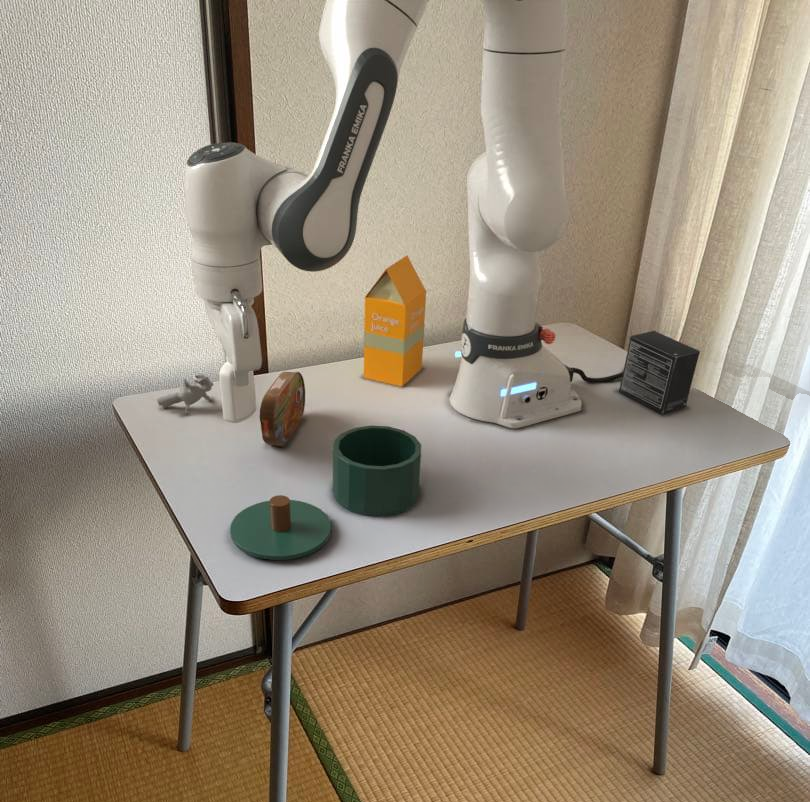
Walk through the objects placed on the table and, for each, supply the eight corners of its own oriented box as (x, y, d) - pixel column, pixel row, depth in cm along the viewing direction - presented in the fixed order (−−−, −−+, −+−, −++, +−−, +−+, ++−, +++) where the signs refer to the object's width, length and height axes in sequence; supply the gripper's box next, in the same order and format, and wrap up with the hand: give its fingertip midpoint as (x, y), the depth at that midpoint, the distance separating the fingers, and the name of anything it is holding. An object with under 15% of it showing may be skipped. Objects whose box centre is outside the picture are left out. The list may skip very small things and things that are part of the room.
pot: (400, 465, 129) (403, 420, 125) (431, 508, 120) (434, 461, 116) (323, 477, 125) (322, 431, 121) (348, 522, 116) (348, 474, 112)
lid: (315, 500, 120) (315, 468, 117) (343, 553, 111) (343, 519, 108) (222, 515, 116) (219, 482, 113) (242, 571, 107) (239, 537, 104)
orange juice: (422, 368, 158) (429, 258, 146) (402, 387, 151) (407, 273, 139) (383, 359, 160) (387, 250, 149) (362, 377, 153) (364, 264, 142)
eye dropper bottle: (264, 416, 126) (258, 338, 119) (228, 426, 123) (220, 346, 116) (251, 404, 129) (244, 327, 122) (216, 413, 126) (207, 335, 119)
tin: (278, 456, 130) (275, 405, 125) (258, 453, 130) (255, 402, 125) (307, 411, 142) (306, 363, 137) (289, 409, 142) (287, 361, 137)
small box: (688, 407, 149) (703, 350, 143) (662, 416, 146) (676, 357, 140) (642, 384, 156) (655, 328, 150) (617, 391, 153) (628, 335, 147)
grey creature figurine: (168, 394, 145) (218, 377, 144) (177, 427, 144) (227, 411, 143) (141, 378, 135) (194, 360, 134) (150, 414, 135) (203, 396, 133)
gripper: (269, 303, 108) (276, 404, 116) (235, 253, 123) (243, 345, 131) (219, 308, 106) (229, 410, 114) (190, 256, 121) (201, 350, 129)
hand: (236, 375), depth 122 cm, fingers closed on eye dropper bottle, 5 cm apart
